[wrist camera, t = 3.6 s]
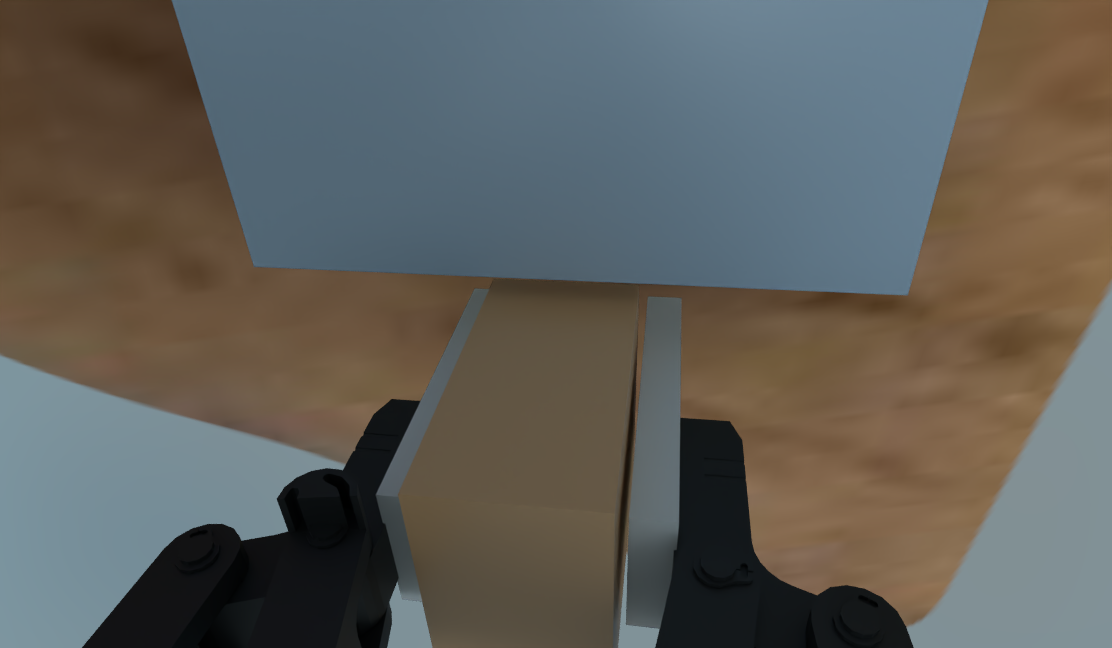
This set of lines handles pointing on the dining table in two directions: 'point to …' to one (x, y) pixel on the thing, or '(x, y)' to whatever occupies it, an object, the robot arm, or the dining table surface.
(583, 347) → the lid
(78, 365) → the dining table surface
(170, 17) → the dining table surface
